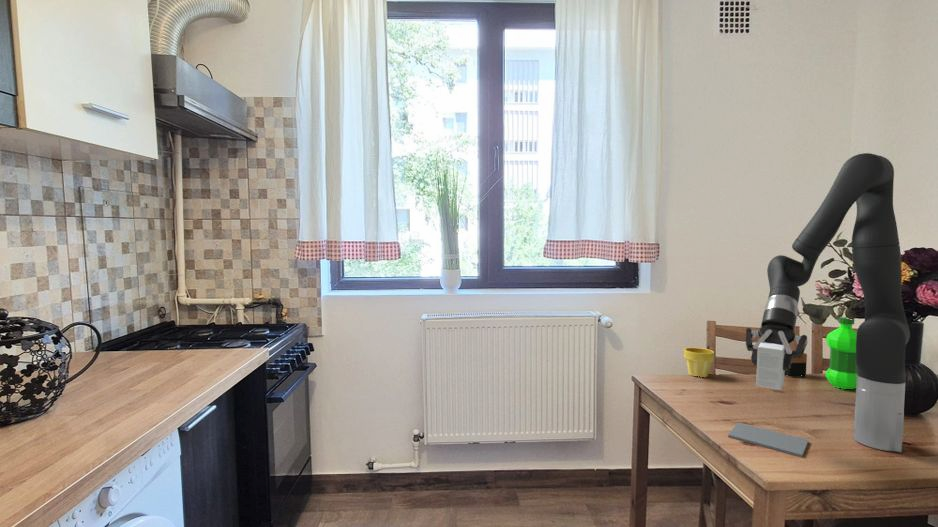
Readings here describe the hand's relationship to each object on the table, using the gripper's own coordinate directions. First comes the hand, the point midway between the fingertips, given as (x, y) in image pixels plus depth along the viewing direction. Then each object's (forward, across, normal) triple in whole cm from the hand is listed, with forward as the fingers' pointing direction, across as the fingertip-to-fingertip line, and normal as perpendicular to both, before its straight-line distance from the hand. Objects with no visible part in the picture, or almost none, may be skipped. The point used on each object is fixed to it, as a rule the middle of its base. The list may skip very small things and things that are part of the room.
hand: (769, 366), depth 116 cm
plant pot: (-20, -31, +49) cm, 61 cm away
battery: (-37, -4, +67) cm, 76 cm away
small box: (+3, 0, +5) cm, 6 cm away
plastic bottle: (-34, +11, +63) cm, 72 cm away
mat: (+13, 0, +15) cm, 20 cm away
